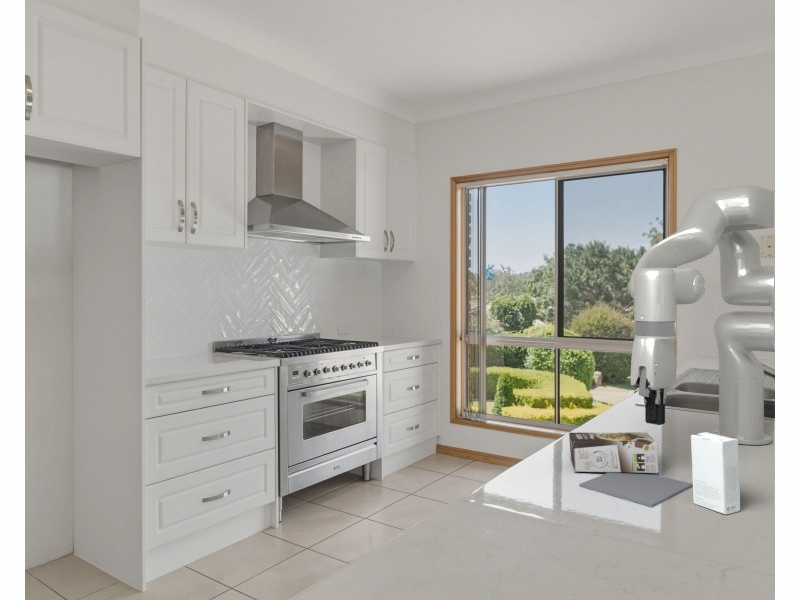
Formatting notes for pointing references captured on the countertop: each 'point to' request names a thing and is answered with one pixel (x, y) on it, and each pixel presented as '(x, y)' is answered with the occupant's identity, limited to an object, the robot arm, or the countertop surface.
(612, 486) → the mat
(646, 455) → the coffee box
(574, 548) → the countertop surface
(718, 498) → the skincare box
